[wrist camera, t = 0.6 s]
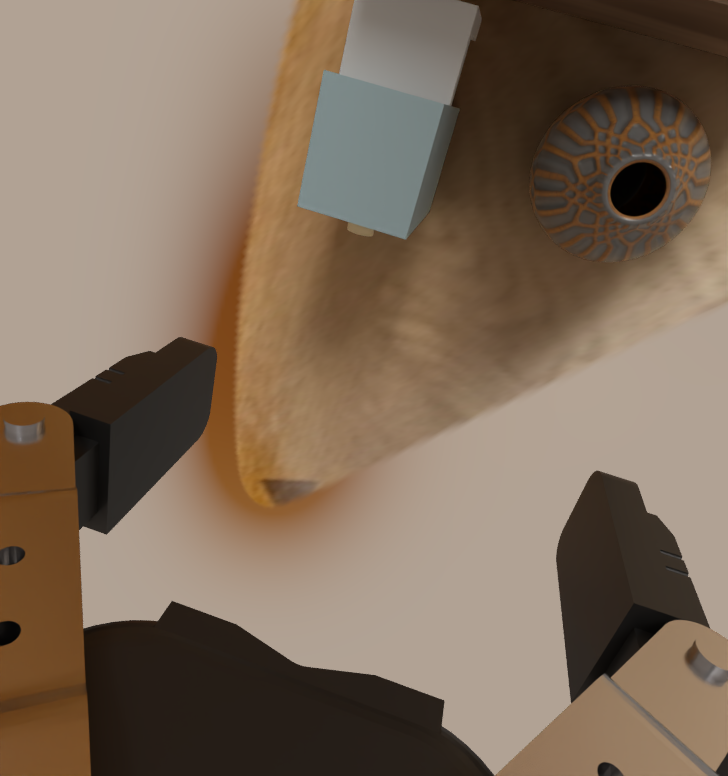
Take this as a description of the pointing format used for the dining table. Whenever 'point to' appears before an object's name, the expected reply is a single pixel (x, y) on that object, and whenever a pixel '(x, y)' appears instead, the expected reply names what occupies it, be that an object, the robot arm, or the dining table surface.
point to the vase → (620, 173)
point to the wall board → (656, 19)
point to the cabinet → (388, 114)
